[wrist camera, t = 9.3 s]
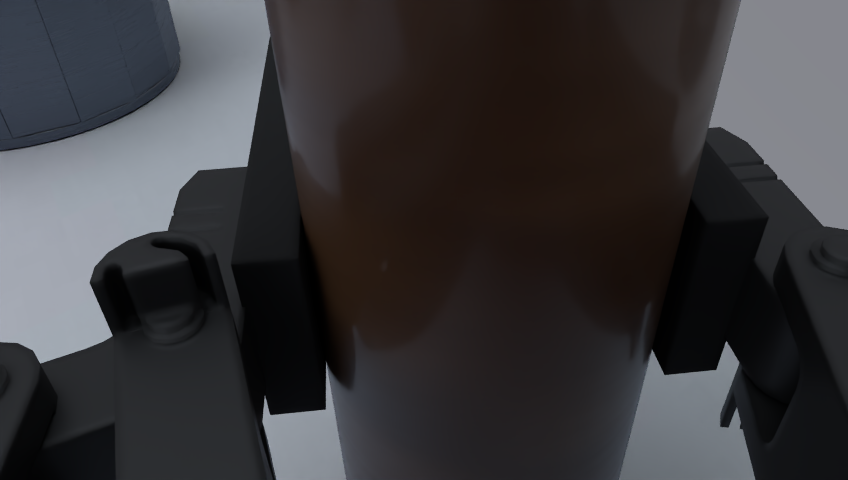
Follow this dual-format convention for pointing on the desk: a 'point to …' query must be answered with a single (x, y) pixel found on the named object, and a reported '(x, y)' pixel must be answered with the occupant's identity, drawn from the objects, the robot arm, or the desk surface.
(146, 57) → the pot
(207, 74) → the desk surface
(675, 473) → the desk surface
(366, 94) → the pepper mill
